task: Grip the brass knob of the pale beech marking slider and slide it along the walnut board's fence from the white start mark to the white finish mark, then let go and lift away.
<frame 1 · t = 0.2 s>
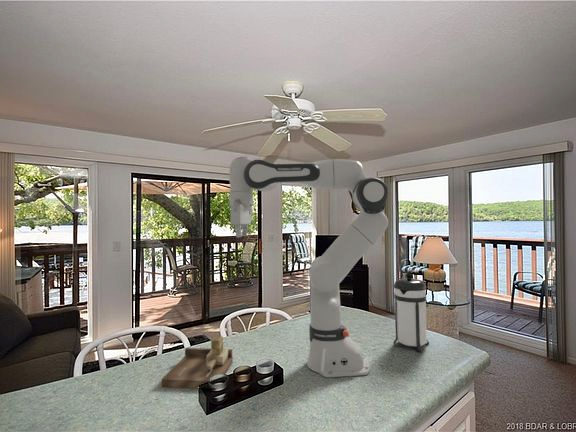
hand: (241, 236, 113), 47 cm above the counter, tool pointing down, fingers open, 8 cm apart
coffee press: (411, 344, 126), on the counter
walnut board: (199, 373, 104), on the counter
marking slider: (214, 353, 105), point 7 cm above the counter, slide at 0.0 cm
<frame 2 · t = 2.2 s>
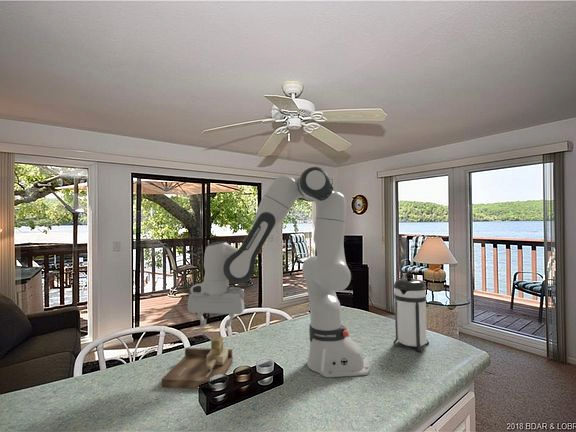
hand: (216, 325, 108), 16 cm above the counter, tool pointing down, fingers open, 8 cm apart
nothing on the counter moved.
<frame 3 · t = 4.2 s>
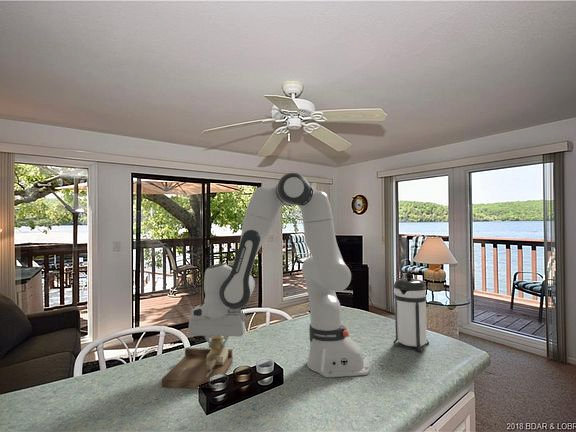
hand: (217, 347, 108), 8 cm above the counter, tool pointing down, fingers closed on marking slider, 3 cm apart
marking slider: (214, 353, 105), point 7 cm above the counter, slide at 0.0 cm, touching gripper
everything else where it was.
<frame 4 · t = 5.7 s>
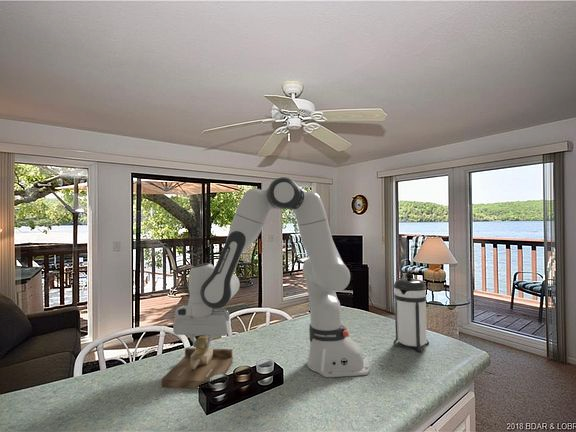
hand: (201, 346, 108), 8 cm above the counter, tool pointing down, fingers closed on marking slider, 3 cm apart
marking slider: (198, 352, 106), point 7 cm above the counter, slide at 5.8 cm, touching gripper
everything else where it was.
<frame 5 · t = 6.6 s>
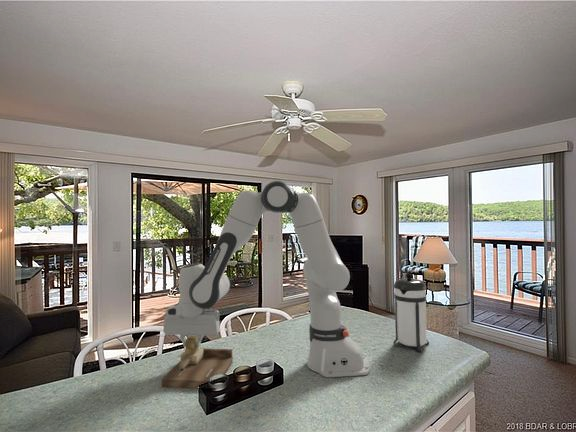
hand: (192, 346, 109), 8 cm above the counter, tool pointing down, fingers closed on marking slider, 3 cm apart
marking slider: (188, 352, 106), point 7 cm above the counter, slide at 9.5 cm, touching gripper
everything else where it was.
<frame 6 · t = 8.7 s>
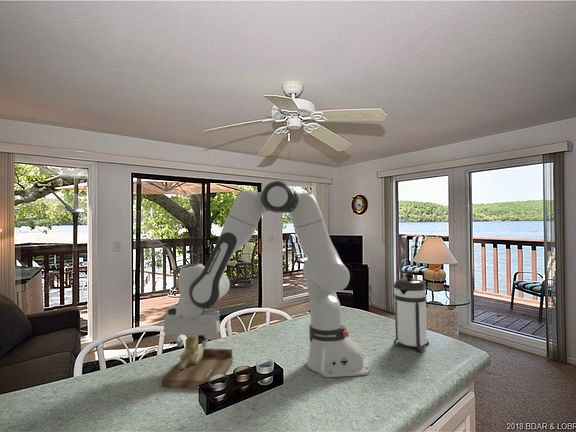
hand: (192, 346, 109), 8 cm above the counter, tool pointing down, fingers open, 8 cm apart
marking slider: (188, 352, 106), point 7 cm above the counter, slide at 9.6 cm
everything else where it was.
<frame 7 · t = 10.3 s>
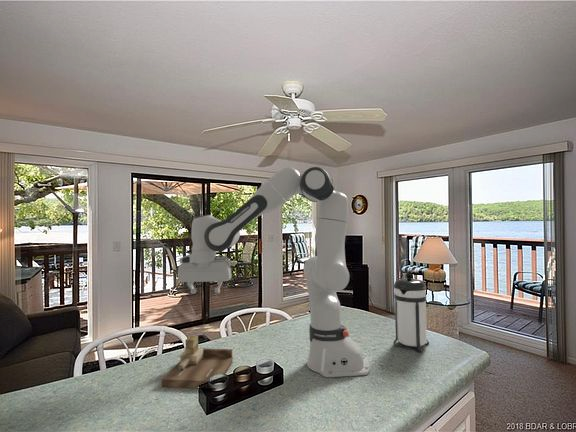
hand: (205, 293, 115), 26 cm above the counter, tool pointing down, fingers open, 8 cm apart
nothing on the counter moved.
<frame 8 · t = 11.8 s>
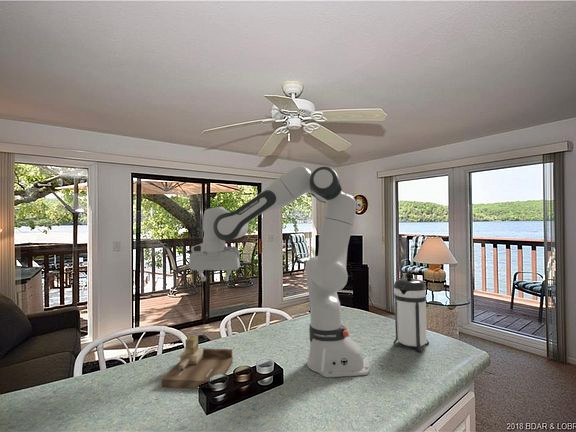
hand: (214, 281, 121), 29 cm above the counter, tool pointing down, fingers open, 8 cm apart
nothing on the counter moved.
at the end: marking slider slide at 9.6 cm; the gripper is holding nothing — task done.
